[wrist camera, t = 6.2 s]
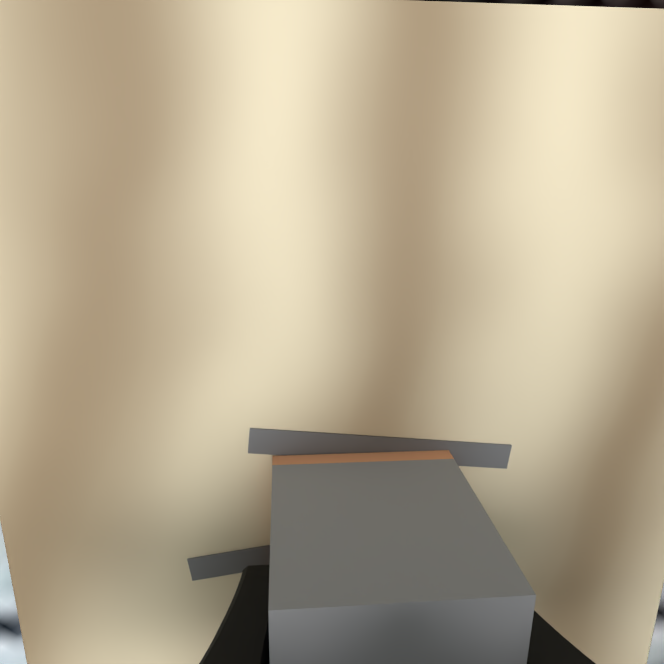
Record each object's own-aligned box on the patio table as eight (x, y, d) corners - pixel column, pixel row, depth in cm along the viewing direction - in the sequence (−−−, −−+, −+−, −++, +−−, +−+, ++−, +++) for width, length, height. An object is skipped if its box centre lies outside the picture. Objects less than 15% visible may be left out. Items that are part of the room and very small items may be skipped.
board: (724, 31, 12) (786, 12, 11) (570, 857, 19) (594, 915, 18) (-48, 9, 11) (-102, -18, 9) (99, 903, 18) (83, 969, 17)
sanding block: (448, 449, 13) (536, 594, 8) (429, 689, 15) (492, 907, 10) (272, 456, 12) (268, 610, 8) (277, 700, 14) (275, 930, 10)
